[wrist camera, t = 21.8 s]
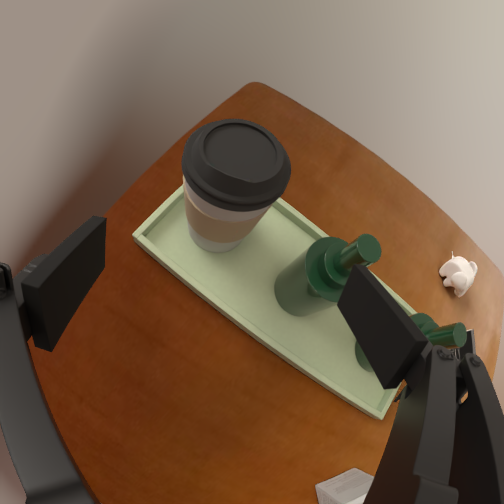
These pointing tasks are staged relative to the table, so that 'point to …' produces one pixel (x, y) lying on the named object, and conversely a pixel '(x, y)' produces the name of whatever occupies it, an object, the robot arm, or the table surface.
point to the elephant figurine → (458, 274)
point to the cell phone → (465, 347)
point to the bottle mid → (322, 273)
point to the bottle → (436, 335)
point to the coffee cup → (231, 181)
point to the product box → (345, 488)
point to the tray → (268, 296)
